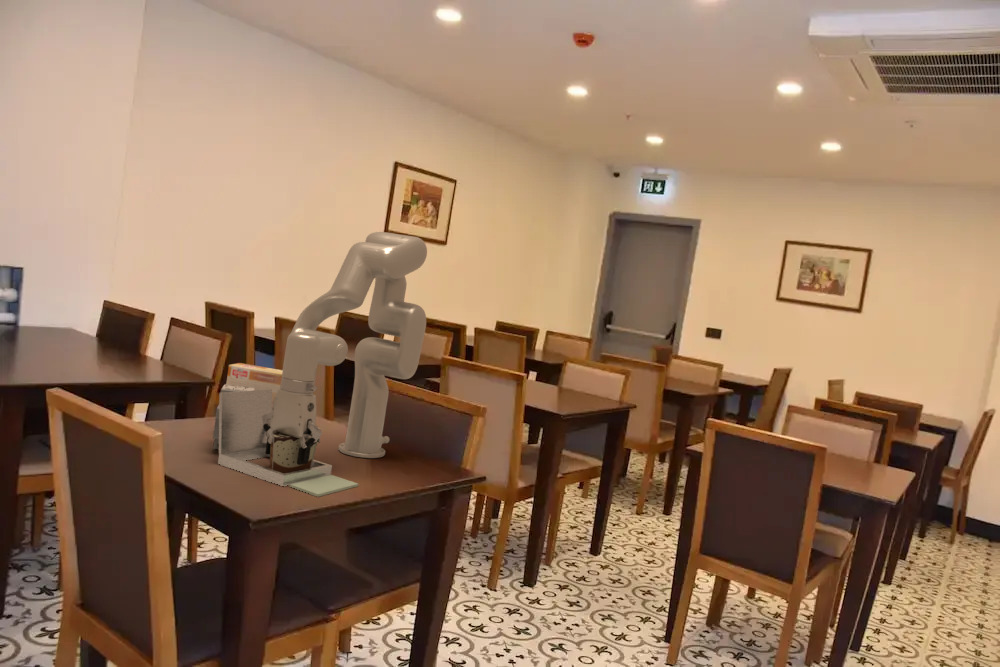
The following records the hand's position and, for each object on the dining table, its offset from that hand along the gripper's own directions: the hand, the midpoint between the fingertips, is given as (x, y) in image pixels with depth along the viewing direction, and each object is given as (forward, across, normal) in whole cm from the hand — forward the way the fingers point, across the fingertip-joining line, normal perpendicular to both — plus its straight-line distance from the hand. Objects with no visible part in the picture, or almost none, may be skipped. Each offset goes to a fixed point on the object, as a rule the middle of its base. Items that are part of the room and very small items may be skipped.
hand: (286, 458), depth 174 cm
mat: (+4, -12, 0) cm, 13 cm away
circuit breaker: (+4, +21, -3) cm, 22 cm away
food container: (+4, 0, 0) cm, 4 cm away
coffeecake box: (+4, +26, -15) cm, 30 cm away
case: (+3, +4, 0) cm, 6 cm away
